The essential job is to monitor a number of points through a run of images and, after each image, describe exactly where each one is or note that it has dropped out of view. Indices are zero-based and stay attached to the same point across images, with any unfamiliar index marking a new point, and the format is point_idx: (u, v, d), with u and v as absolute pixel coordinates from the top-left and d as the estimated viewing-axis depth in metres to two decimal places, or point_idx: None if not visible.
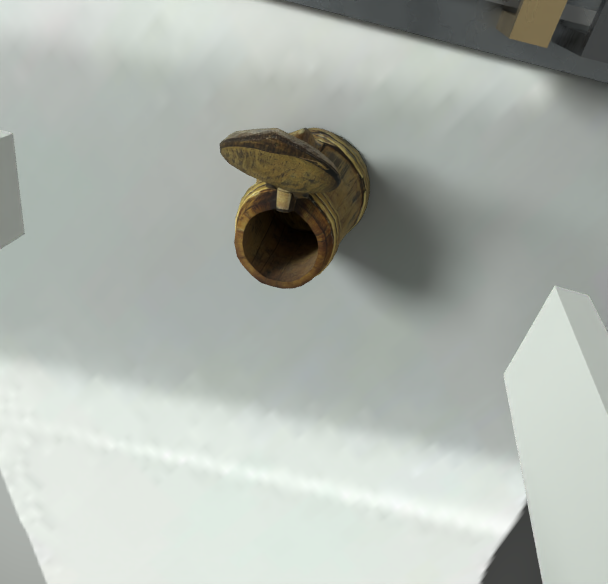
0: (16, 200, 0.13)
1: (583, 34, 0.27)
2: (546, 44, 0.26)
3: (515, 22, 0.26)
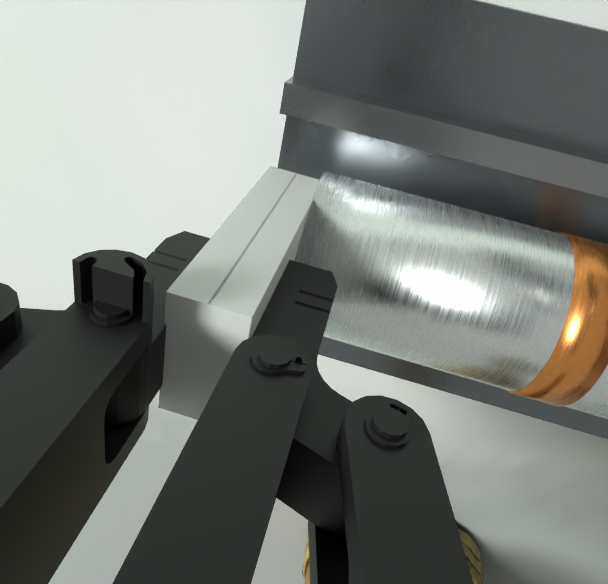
0: None
1: None
2: None
3: None
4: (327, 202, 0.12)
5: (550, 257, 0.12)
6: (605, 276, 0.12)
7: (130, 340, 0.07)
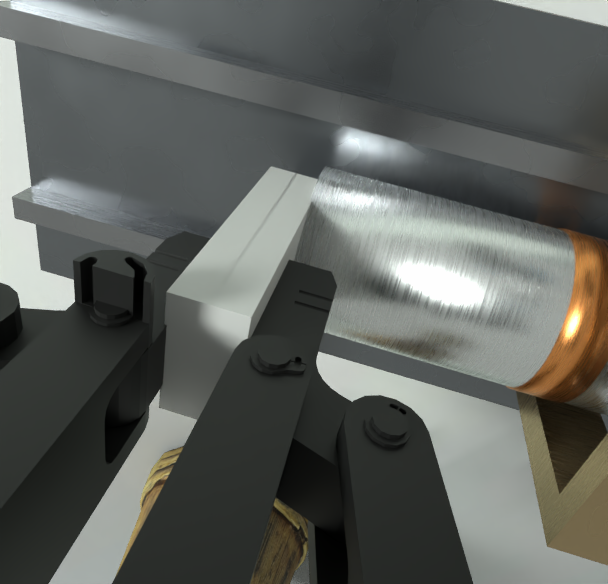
0: None
1: None
2: None
3: (561, 526, 0.12)
4: (327, 198, 0.12)
5: (551, 254, 0.12)
6: (606, 273, 0.12)
7: (130, 340, 0.07)
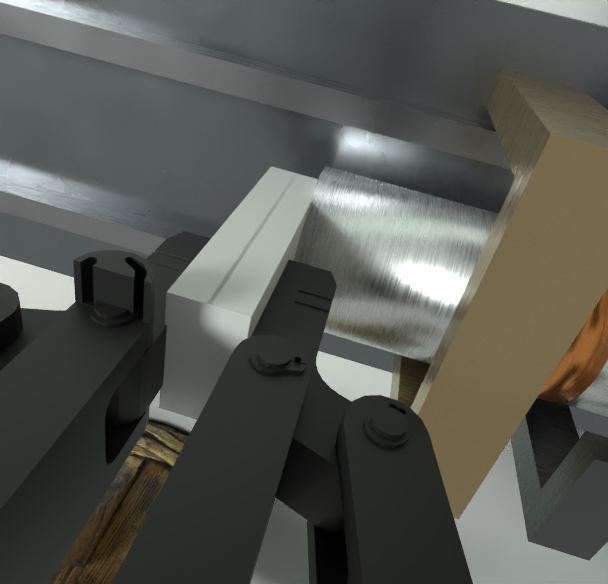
0: None
1: (536, 475, 0.13)
2: (456, 514, 0.13)
3: None
4: (328, 198, 0.12)
5: None
6: None
7: (130, 340, 0.07)
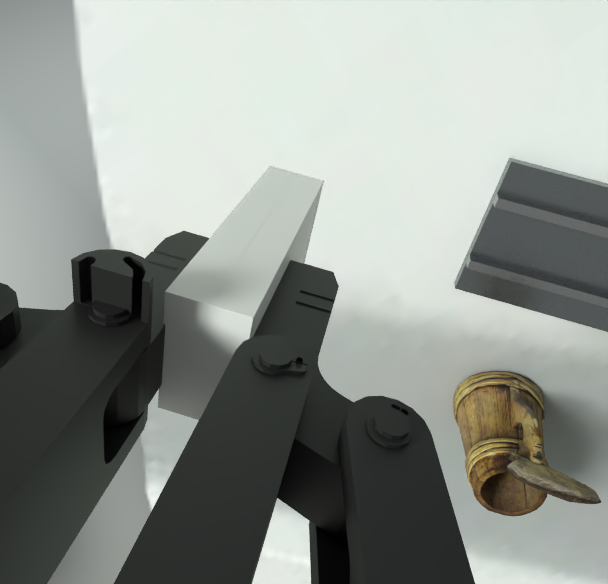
0: None
1: None
2: None
3: None
4: None
5: None
6: None
7: (129, 340, 0.07)
